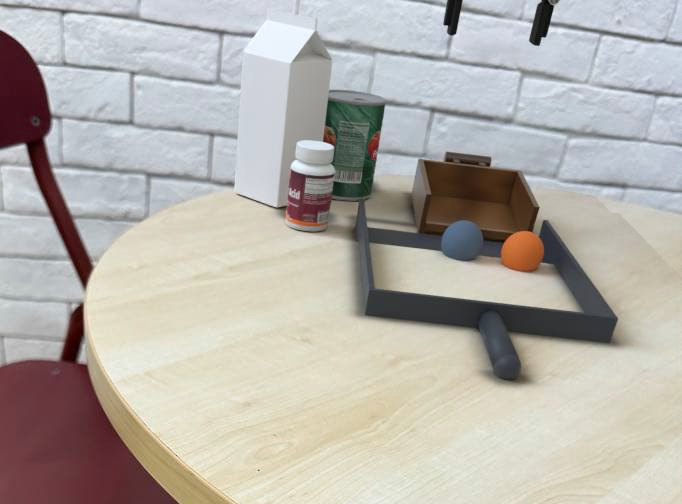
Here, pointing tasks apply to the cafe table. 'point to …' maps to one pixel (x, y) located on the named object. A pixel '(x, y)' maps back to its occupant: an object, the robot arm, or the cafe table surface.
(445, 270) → the cafe table surface
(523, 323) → the grey frame with handle
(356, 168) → the canned tomato
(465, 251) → the blue ball
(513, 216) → the drawer
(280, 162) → the milk carton
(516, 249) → the orange ball
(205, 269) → the cafe table surface
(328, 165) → the pill bottle
